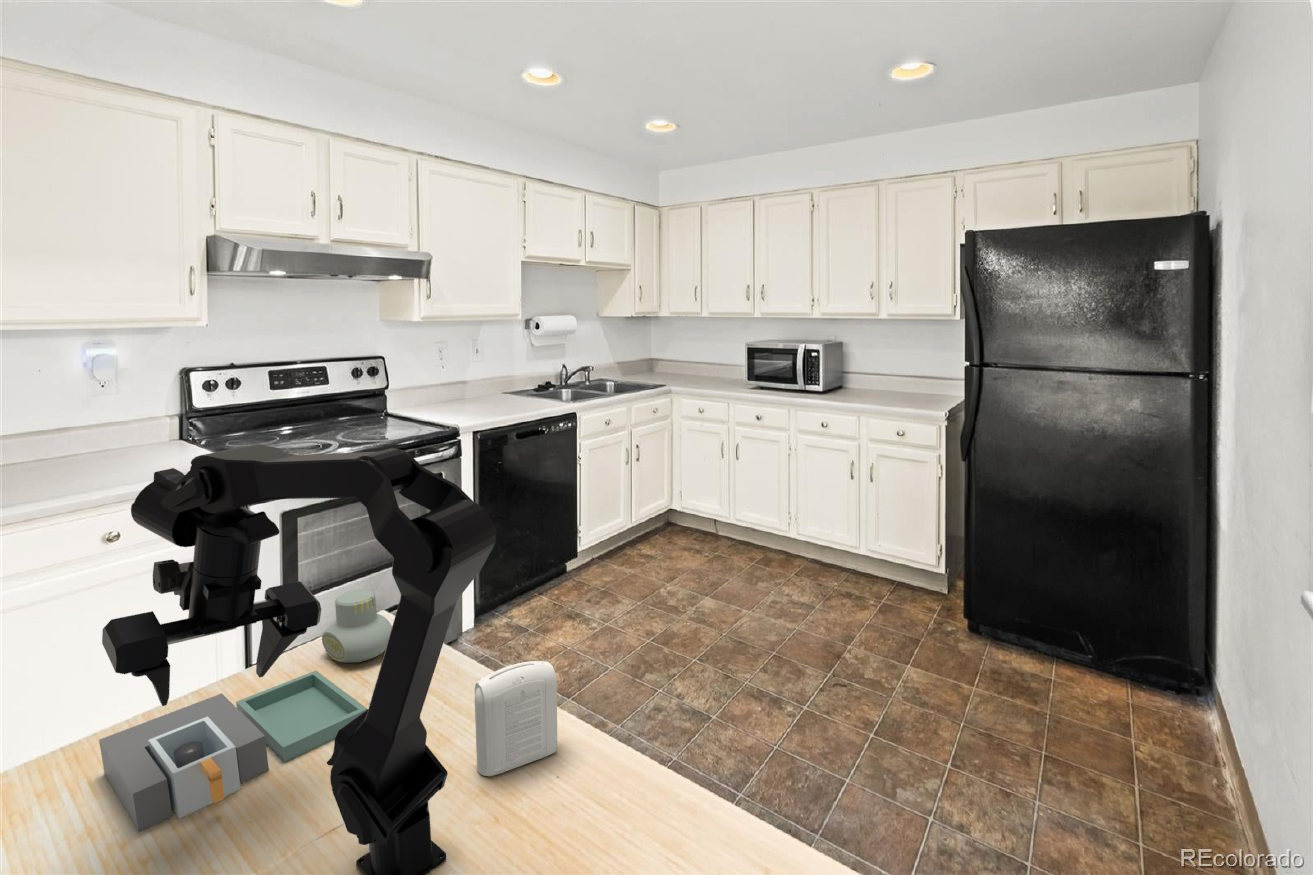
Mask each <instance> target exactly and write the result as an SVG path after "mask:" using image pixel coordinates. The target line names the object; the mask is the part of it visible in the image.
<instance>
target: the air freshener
mask: <svg viewBox="0 0 1313 875" xmlns="http://www.w3.org/2000/svg"><path fill="white" fill-rule="evenodd" d="M376 602H377V600H376V593H375V592H374V591H372V590H370V589H366V588H365V589H364V588H363V589H359V588H358V589H353V590H348V591H345V592H343V593H341V594H339V595H338V596H337V597H336V598H335V600H334V603H335V604H334V605H335V606H334V607H335V617H336V619H335V620H334V622H332V623H330V625H328V627H326V629H325V630H324V632H323V633H322V635H321V644H322V646H323V648H324V650H325V651H326V653H327V655H328V656H329V657H331V659H332V660H334V661H336V662H339V663H345V664H346V663H347V664H348V663H349V664H356V663H363V662H367V661H369V660H372V659H373V658H376V657H377V656H379V655H381V654H382V653H385V650H386V647H387V643H388V640H389V636H390V633H391V629H392V626H393V624H391V621H389V619H387V617H385V616H384V615H382V614H380V613H377V603H376Z"/></svg>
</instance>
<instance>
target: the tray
mask: <svg viewBox="0 0 1313 875" xmlns="http://www.w3.org/2000/svg"><path fill="white" fill-rule="evenodd" d="M235 704H236V705H235V706H236V708H237V709H238V710H239V711H240V712H241V713H242V714H243V715H244V716H245V717H246V718H247V719H248V720H249V721H250V722H251V723H253V724H254V725H255V726H256V727H257V728H258V729H259V730H260V731H261V732H262V733H263V734H264V735H265V740H266V746H267V747H269V749H271V751H272V752H273V753H275V755H276V756H278V757H279V759H281V761H283V763H284V764H286V763H288V762H289V761H292V760H294V759H296V758H298V757H300V756H302V755H304V754H307V753H309V752H311V751H313V750H315V749H317V748H319V747H321V746H323V745H325V744H327V743H330V742H332V741H335V738H336V735H337V733H338V731H339V730H340V729H341V728H343V727H344V726H345V725H347V724H348V723H349V722H351V721H352V720H354V719H355V718H356V717H358V716H359V715H360V714H362V713H363V712H365V711H366V710H367V709H368V708H367V707H366V706H364V705H363V704H362V703H360V702H359V701H358V700H356V699H355V698H354V697H352V696H351V695H349V693H347V692H346V691H344V690H343V689H341V687H339V686H338V685H336V684H335V683H333V682H332V681H331V680H329V679H328V678H327V677H326V676H324V675H323V674H322V673H320V672H319V671H318V670H313V671H311V672H309V673H306V674H304V675H301V676H298V677H295V678H293V679H291V680H287V681H285V682H282V683H281V684H277V685H275V686H273V687H270V688H267V689H265V690H262V691H260V692H257V693H255V694H253V695H249V696H247V697H244V698H242V699H240V700H237V701H236V702H235Z"/></svg>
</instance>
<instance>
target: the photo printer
mask: <svg viewBox="0 0 1313 875" xmlns="http://www.w3.org/2000/svg"><path fill="white" fill-rule="evenodd" d="M557 688H558V681H557V675H556V672H555V668H554V665H553V664H551V663H550V662H549V661H545V660H534V661H533V660H531V661H524V662H518V663H515V664H511V665H508V666H505V667H502V668H500V669H498V670H495V671H493V672H492V673H489V674H488V675H486V676H484V677H483V678H481V679H479V680H478V681H477V682H476V684H475V686H474V719H475V724H474V725H475V748H476V750H475V751H476V770H477V771H478V772H477V773H479V774H480V775H482V776H485V777H492V776H496V775H500V774H503V773H506V772H507V771H511V770H513V769H516V768H518V767H519V768H520V767H522V766H524V765H527V764H530V763H532V762H535V761H538V760H541V759H543V758H546V757H548V756H551V755H553V754H555V753H556V752H557V751H558V745H559V744H558V689H557Z"/></svg>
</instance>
